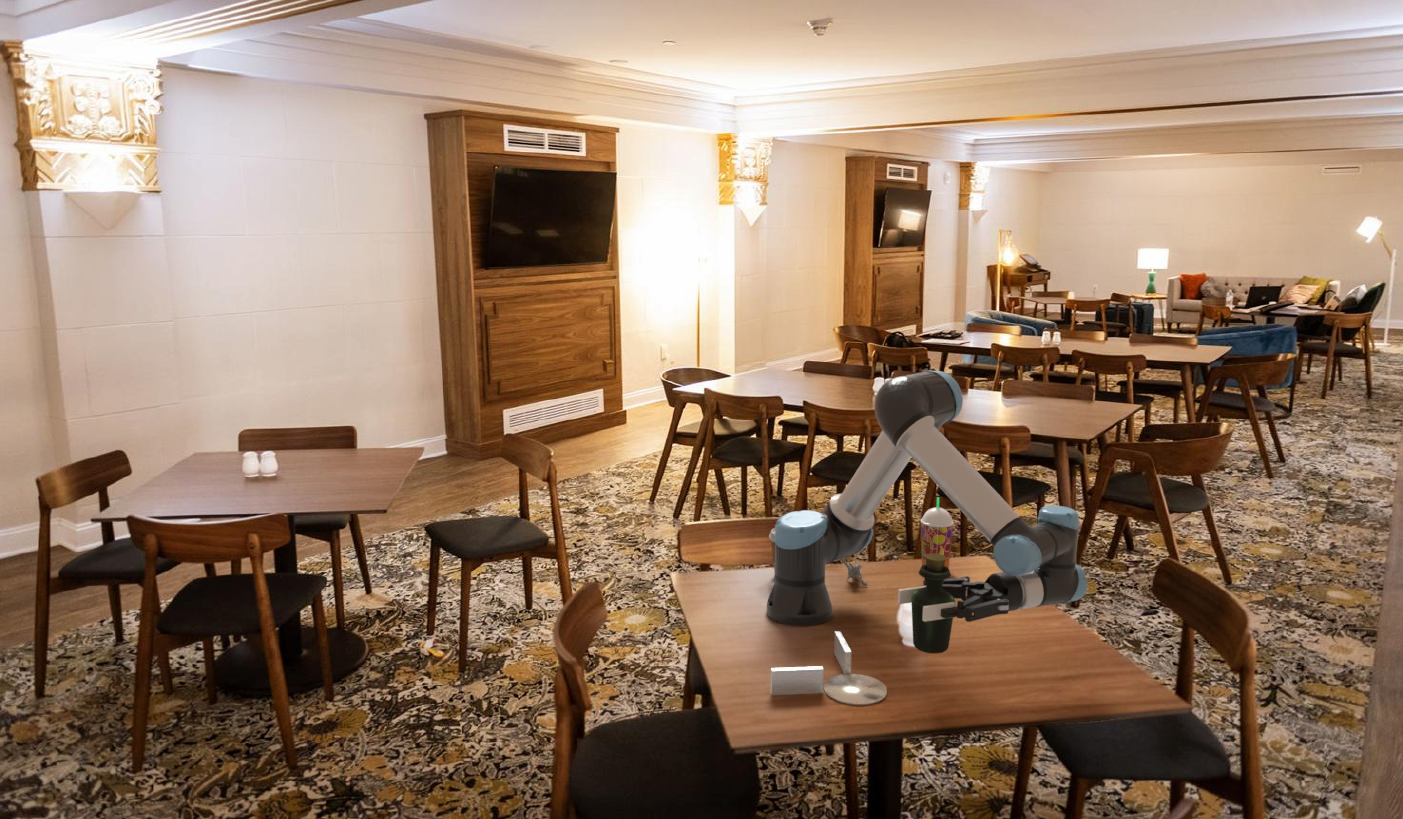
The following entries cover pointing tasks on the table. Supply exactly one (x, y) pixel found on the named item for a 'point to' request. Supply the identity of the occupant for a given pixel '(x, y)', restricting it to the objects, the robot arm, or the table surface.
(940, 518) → the smoothie
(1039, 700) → the table surface
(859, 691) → the shiny disc with plates
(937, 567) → the potion bottle
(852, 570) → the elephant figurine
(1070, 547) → the robot arm
